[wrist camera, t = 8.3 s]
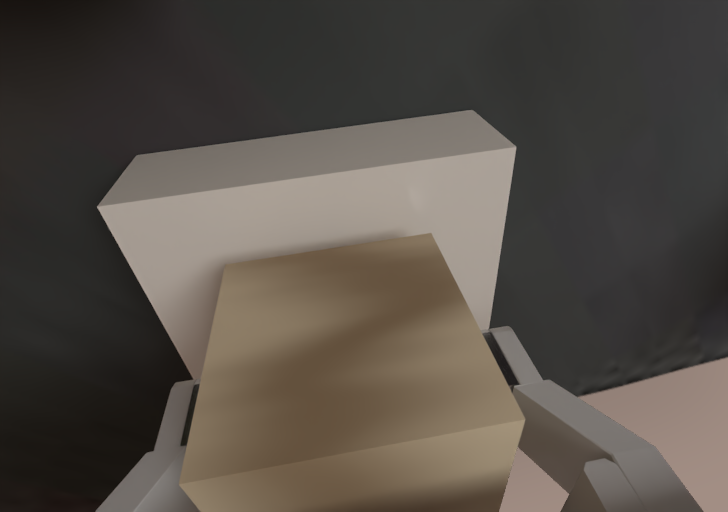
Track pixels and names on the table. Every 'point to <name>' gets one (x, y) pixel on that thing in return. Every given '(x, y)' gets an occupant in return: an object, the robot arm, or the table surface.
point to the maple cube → (349, 389)
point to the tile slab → (310, 208)
